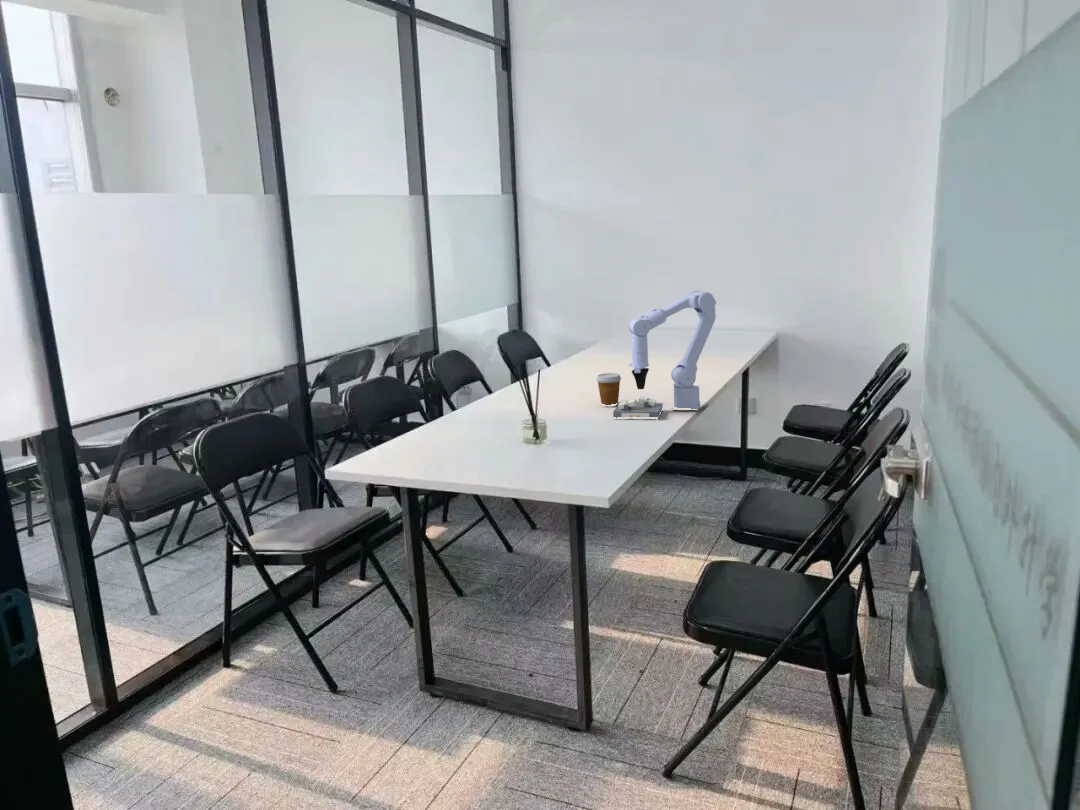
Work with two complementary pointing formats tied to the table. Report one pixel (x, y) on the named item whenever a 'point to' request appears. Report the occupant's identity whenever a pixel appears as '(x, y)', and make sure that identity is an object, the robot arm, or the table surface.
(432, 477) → the table surface
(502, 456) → the table surface
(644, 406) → the console
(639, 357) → the robot arm
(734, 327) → the table surface
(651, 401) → the rocker
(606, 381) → the disposable coffee cup
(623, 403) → the rocker
